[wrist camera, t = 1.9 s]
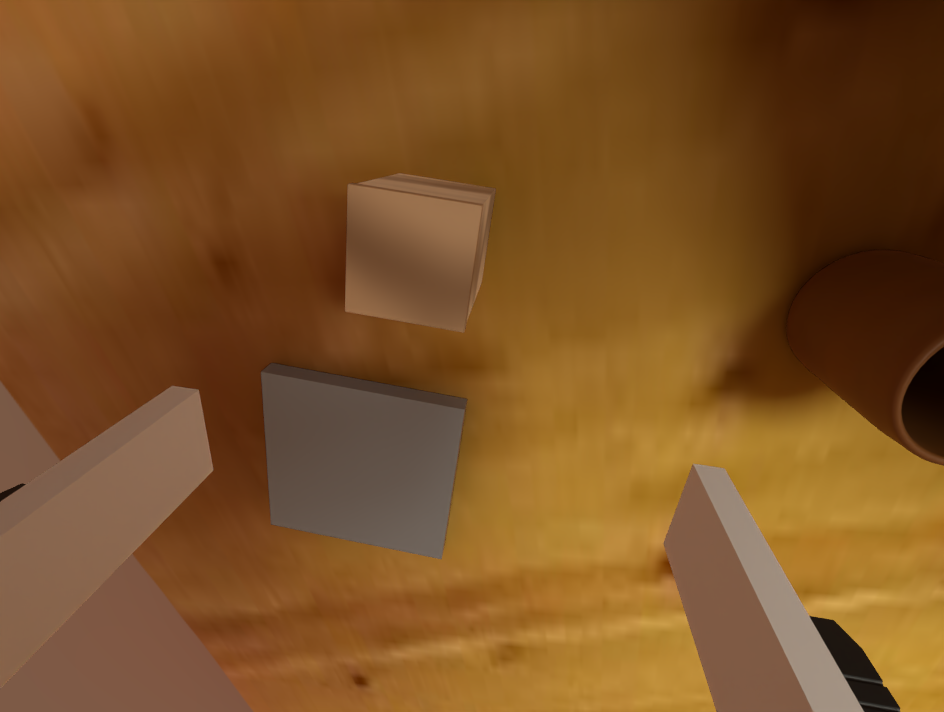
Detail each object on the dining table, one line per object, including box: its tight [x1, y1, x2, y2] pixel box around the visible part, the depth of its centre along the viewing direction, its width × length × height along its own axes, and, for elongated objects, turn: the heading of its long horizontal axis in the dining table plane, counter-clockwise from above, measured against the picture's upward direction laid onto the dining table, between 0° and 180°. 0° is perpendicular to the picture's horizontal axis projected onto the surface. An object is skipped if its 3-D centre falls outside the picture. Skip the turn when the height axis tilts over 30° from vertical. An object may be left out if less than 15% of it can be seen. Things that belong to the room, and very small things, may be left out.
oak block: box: [345, 173, 496, 332], centre depth 24 cm, size 6×6×8 cm
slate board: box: [261, 363, 467, 559], centre depth 35 cm, size 14×14×1 cm
